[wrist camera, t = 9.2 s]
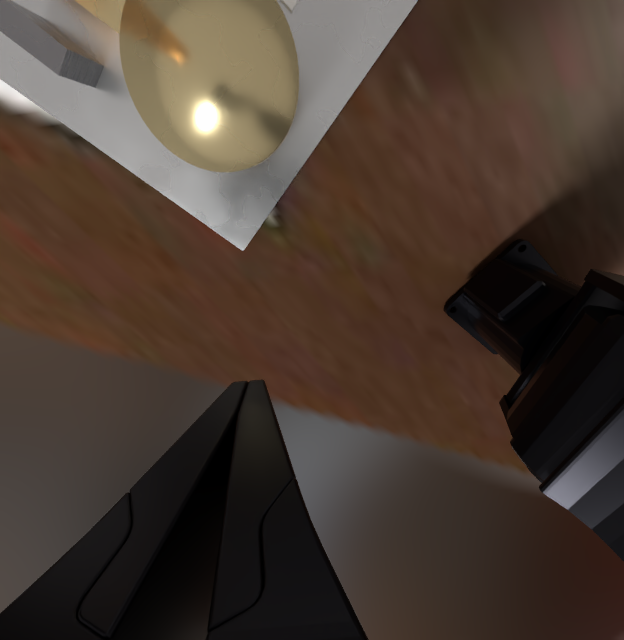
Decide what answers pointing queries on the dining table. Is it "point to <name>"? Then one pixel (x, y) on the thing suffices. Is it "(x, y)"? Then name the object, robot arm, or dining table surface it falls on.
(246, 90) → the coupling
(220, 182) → the base
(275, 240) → the dining table surface
